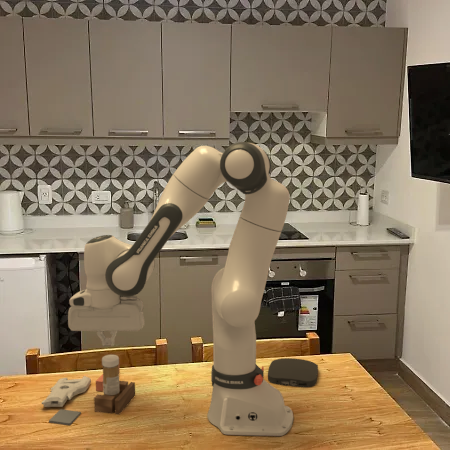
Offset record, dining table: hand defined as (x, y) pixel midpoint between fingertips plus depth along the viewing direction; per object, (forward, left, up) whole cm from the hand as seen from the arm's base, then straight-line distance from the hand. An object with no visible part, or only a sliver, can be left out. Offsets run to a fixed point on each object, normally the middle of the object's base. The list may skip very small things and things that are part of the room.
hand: (108, 345), depth 157 cm
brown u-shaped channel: (-1, -1, -17) cm, 17 cm away
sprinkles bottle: (0, -1, -17) cm, 17 cm away
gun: (+14, -2, -17) cm, 22 cm away
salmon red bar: (+6, -12, -17) cm, 22 cm away
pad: (+8, +10, -17) cm, 22 cm away
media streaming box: (-47, -30, -18) cm, 58 cm away
